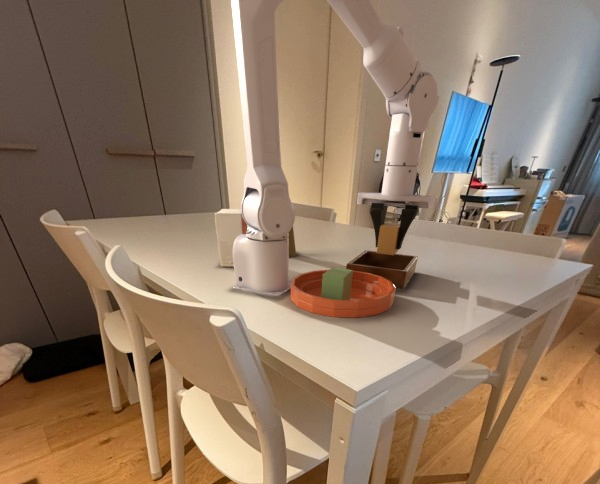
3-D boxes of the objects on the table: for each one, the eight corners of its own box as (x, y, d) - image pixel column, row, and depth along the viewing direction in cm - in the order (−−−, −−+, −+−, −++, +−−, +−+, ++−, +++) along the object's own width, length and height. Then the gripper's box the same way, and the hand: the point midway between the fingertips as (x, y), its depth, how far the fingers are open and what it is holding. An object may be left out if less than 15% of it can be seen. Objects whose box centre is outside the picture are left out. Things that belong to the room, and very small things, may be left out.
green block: (320, 305, 54) (322, 274, 51) (330, 297, 58) (332, 267, 55) (341, 309, 53) (344, 277, 50) (349, 300, 56) (353, 270, 54)
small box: (245, 267, 74) (241, 213, 68) (219, 267, 74) (213, 212, 68) (250, 258, 80) (246, 208, 74) (226, 258, 80) (221, 208, 74)
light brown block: (376, 253, 67) (380, 225, 64) (381, 249, 71) (385, 222, 68) (393, 255, 66) (398, 227, 63) (398, 250, 70) (402, 224, 67)
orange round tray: (273, 308, 54) (272, 290, 52) (313, 280, 67) (314, 265, 65) (377, 328, 49) (381, 308, 47) (400, 294, 61) (403, 277, 60)
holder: (344, 282, 66) (346, 263, 64) (363, 267, 76) (365, 250, 74) (402, 291, 63) (406, 271, 60) (414, 273, 72) (418, 256, 70)
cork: (293, 257, 82) (293, 206, 76) (269, 256, 83) (267, 205, 76) (298, 252, 87) (299, 203, 80) (275, 250, 88) (274, 202, 81)
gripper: (445, 166, 61) (427, 247, 69) (367, 164, 65) (359, 240, 73) (442, 167, 55) (422, 254, 63) (357, 165, 60) (349, 246, 68)
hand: (388, 247), depth 68 cm, fingers closed on light brown block, 3 cm apart
